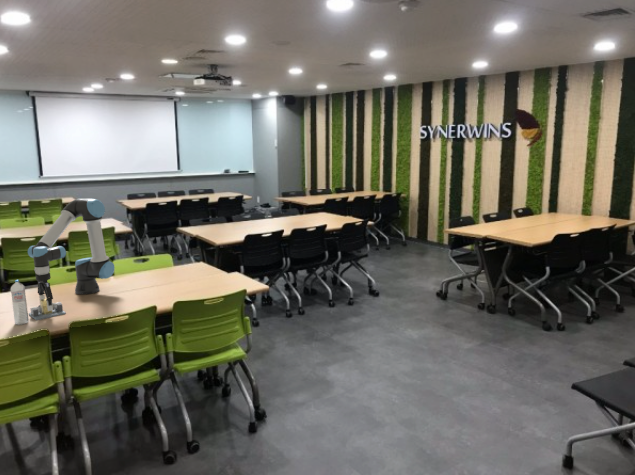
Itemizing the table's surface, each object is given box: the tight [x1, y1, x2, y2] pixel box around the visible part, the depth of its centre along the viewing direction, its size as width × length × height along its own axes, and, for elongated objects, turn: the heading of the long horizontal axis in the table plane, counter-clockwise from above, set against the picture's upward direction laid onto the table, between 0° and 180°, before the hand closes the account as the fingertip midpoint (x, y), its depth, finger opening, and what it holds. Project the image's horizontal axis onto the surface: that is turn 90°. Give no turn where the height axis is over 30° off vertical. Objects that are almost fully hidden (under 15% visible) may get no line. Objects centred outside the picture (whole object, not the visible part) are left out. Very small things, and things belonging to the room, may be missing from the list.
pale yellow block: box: [39, 298, 52, 314], centre depth 297 cm, size 4×4×8 cm
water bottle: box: [10, 279, 29, 326], centre depth 282 cm, size 7×7×25 cm
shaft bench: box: [28, 301, 67, 321], centre depth 298 cm, size 14×16×6 cm
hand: (46, 308), depth 298 cm, fingers open, 13 cm apart
